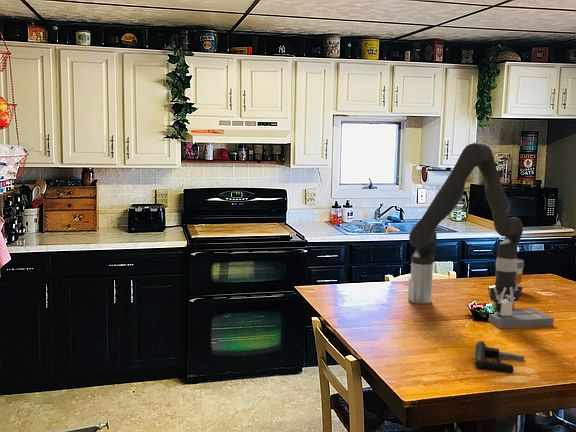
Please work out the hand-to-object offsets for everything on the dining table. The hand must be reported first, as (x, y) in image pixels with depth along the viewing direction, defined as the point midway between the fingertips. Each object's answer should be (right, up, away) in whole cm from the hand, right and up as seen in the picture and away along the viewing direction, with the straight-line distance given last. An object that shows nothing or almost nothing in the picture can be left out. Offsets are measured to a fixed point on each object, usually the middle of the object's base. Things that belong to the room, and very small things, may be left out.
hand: (503, 311), depth 235 cm
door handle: (-16, -10, -39) cm, 44 cm away
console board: (+6, -4, +2) cm, 7 cm away
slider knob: (0, -1, 0) cm, 1 cm away
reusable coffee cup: (+19, +2, +48) cm, 52 cm away
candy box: (+7, -2, +20) cm, 22 cm away
